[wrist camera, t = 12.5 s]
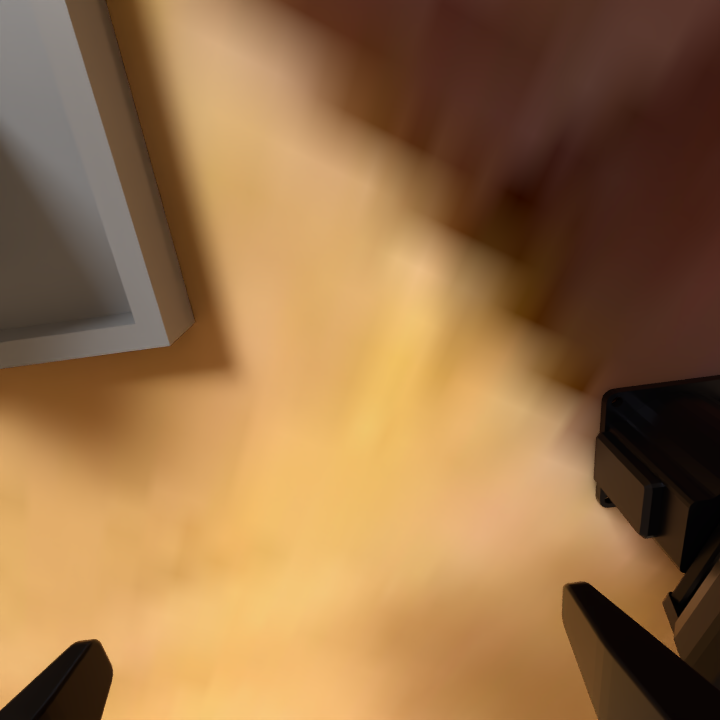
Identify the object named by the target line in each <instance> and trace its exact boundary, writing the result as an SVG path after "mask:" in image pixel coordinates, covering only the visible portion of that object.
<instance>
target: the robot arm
mask: <svg viewBox="0 0 720 720" xmlns="http://www.w3.org/2000/svg"><path fill="white" fill-rule="evenodd" d="M617 397H618V400H617V401H616V402H615V403H612V401H613V400H614V399H615V398H617ZM594 480H595V481H596V482H597V485H596V499H597V500H598V501H599V503H600V504H601V505H602V506H603V507H607V508H610V507H617V508H618V509H619V511H620V512H621V513H622V514H623V516H624V517H625V518H626V519H627V521H628V522H629V523H630V524H631V526H632V527H633V528H634V529H635V531H636V532H637V533H638V534H639V535H641V536H642V537H643V538H653V539H654V540H655V542H656V543H657V544H658V545H659V546H660V547H661V549H662V550H663V551H664V552H665V553H666V555H667V556H668V557H669V558H670V559H671V561H672V562H673V563H674V564H675V565H676V567H677V568H678V569H679V570H680V571H681V572H682V573H685V574H684V576H683V578H682V579H681V581H680V582H679V584H678V585H677V587H676V588H675V590H674V591H673V592H669V593H668V595H667V596H666V598H665V599H664V601H663V602H662V603H663V606H664V609H665V612H666V615H667V617H668V620H669V623H670V625H671V628H672V631H673V633H674V641H675V644H676V647H677V650H678V653H679V656H680V657H678V656H677V655H676V654H675V653H673V652H672V651H671V650H670V649H669V648H667V647H666V646H665V645H664V644H662V643H661V642H660V641H659V640H658V639H656V638H655V637H654V636H653V635H651V634H650V633H649V632H648V631H647V630H645V629H644V628H643V627H642V626H640V625H639V624H638V623H637V622H636V621H634V620H633V619H632V618H631V617H629V616H628V615H627V614H626V613H624V612H623V611H622V610H621V609H620V608H618V607H617V606H616V605H615V604H613V603H612V602H611V601H610V600H609V599H607V598H606V597H605V596H604V595H602V594H601V593H600V592H599V591H598V590H596V589H595V588H594V587H593V586H591V585H590V584H589V583H587V582H574V583H567V584H565V585H564V587H563V600H562V619H563V624H564V627H565V630H566V633H567V636H568V638H569V641H570V644H571V647H572V649H573V652H574V655H575V658H576V660H577V663H578V666H579V668H580V671H581V674H582V677H583V679H584V682H585V685H586V688H587V690H588V693H589V696H590V699H591V701H592V704H593V707H594V709H595V712H596V714H597V717H598V720H720V375H716V376H709V377H701V378H693V379H685V380H678V381H670V382H662V383H654V384H647V385H639V386H631V387H623V388H616V389H611V390H609V391H607V392H606V393H605V394H604V395H603V398H602V407H601V422H600V433H599V434H598V436H597V437H596V451H595V467H594ZM607 496H608V498H606V497H607ZM605 498H606V499H605ZM112 677H113V669H112V665H111V663H110V661H109V659H108V656H107V654H106V652H105V650H104V648H103V646H102V644H101V643H100V641H98V640H97V639H91V640H83V641H78V642H75V643H74V644H72V645H71V646H70V647H69V648H67V649H66V650H65V651H64V652H63V653H62V654H61V655H60V656H59V657H58V658H57V659H56V660H54V661H53V662H52V663H51V664H50V665H49V666H48V667H47V668H46V669H45V670H44V671H43V672H41V673H40V674H39V675H38V676H37V677H36V678H35V679H34V680H33V681H32V682H31V683H30V684H28V685H27V686H26V687H25V688H24V689H23V690H22V691H21V692H20V693H19V694H18V695H17V696H15V697H14V698H13V699H12V700H11V701H10V702H9V703H8V704H7V705H6V706H5V707H4V708H2V709H1V710H0V720H101V718H102V714H103V711H104V707H105V704H106V700H107V697H108V693H109V690H110V686H111V683H112Z"/></svg>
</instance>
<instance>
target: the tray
mask: <svg viewBox="0 0 720 720" xmlns="http://www.w3.org/2000/svg"><path fill="white" fill-rule="evenodd" d="M194 323H195V320H194V316H193V313H192V309H191V306H190V302H189V298H188V295H187V291H186V288H185V284H184V280H183V277H182V273H181V270H180V266H179V262H178V259H177V255H176V252H175V248H174V244H173V241H172V237H171V234H170V230H169V227H168V223H167V219H166V216H165V212H164V209H163V205H162V201H161V198H160V194H159V191H158V187H157V183H156V180H155V176H154V173H153V169H152V165H151V162H150V158H149V155H148V151H147V147H146V144H145V140H144V137H143V133H142V129H141V126H140V122H139V119H138V115H137V111H136V108H135V104H134V101H133V97H132V94H131V90H130V86H129V83H128V79H127V76H126V72H125V68H124V65H123V61H122V58H121V54H120V50H119V47H118V43H117V40H116V36H115V32H114V29H113V25H112V22H111V18H110V14H109V11H108V7H107V4H106V0H0V369H3V368H10V367H18V366H25V365H33V364H40V363H47V362H55V361H62V360H69V359H77V358H84V357H91V356H99V355H106V354H113V353H121V352H128V351H136V350H143V349H150V348H158V347H165V346H170V345H172V344H173V343H174V342H175V341H176V340H177V339H178V338H179V337H180V336H181V335H182V334H183V333H184V332H185V331H186V330H188V329H189V328H190V327H191V326H192V325H193V324H194Z"/></svg>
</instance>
